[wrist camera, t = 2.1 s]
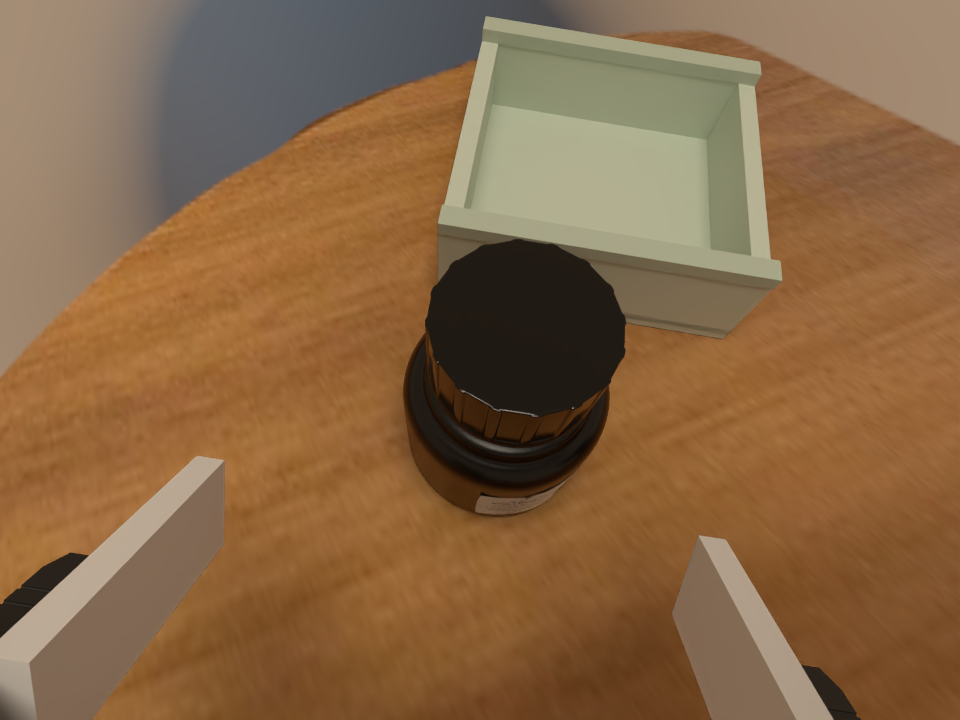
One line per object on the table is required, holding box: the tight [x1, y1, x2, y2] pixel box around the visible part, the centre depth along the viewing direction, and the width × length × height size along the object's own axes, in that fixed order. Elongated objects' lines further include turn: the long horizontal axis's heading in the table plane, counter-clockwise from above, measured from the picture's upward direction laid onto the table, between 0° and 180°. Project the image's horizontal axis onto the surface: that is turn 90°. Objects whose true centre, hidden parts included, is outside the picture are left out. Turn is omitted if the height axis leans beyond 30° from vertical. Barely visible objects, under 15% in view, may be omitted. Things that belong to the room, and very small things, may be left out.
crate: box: [438, 16, 782, 339], centre depth 34 cm, size 17×16×6 cm
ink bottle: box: [403, 239, 626, 517], centre depth 24 cm, size 10×9×12 cm
